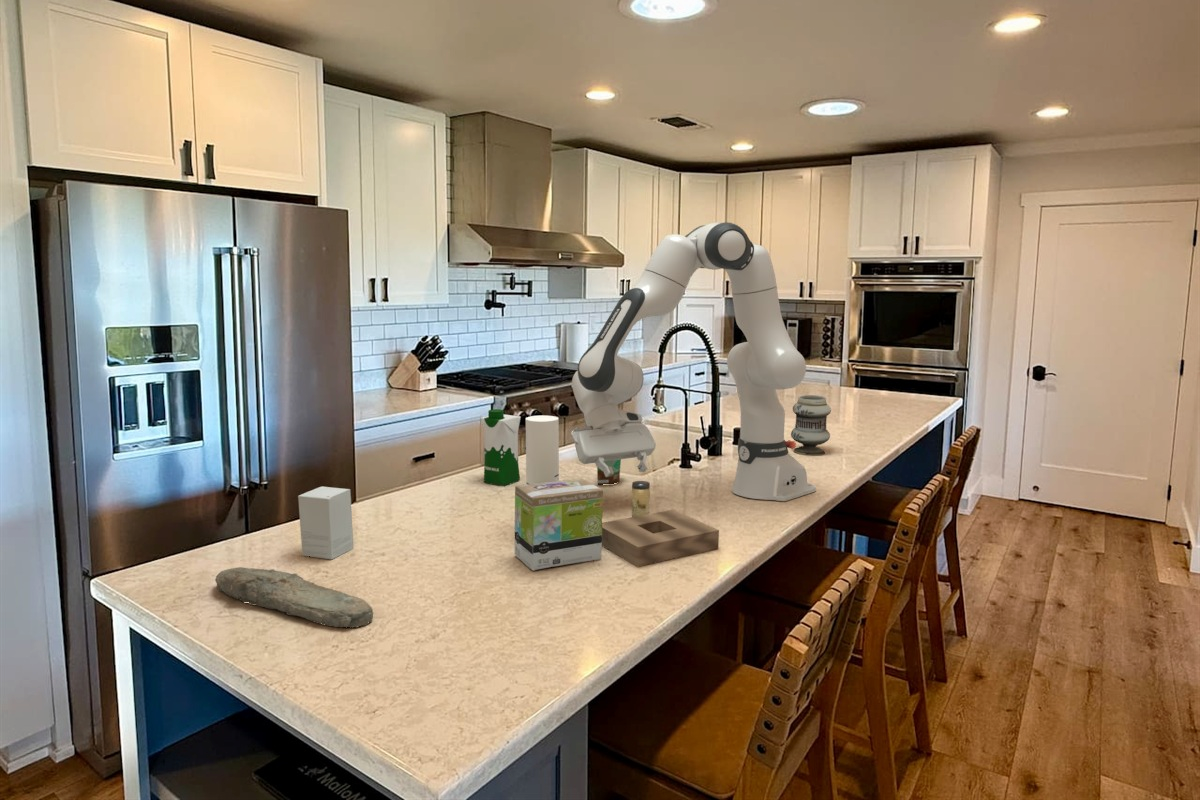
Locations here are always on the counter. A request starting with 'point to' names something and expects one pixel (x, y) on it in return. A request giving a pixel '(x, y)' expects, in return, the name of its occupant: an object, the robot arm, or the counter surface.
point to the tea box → (558, 523)
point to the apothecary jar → (811, 424)
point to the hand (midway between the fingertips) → (627, 473)
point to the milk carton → (500, 447)
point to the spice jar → (640, 498)
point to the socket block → (658, 537)
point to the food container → (615, 477)
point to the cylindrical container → (542, 449)
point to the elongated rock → (294, 596)
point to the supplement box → (326, 522)
